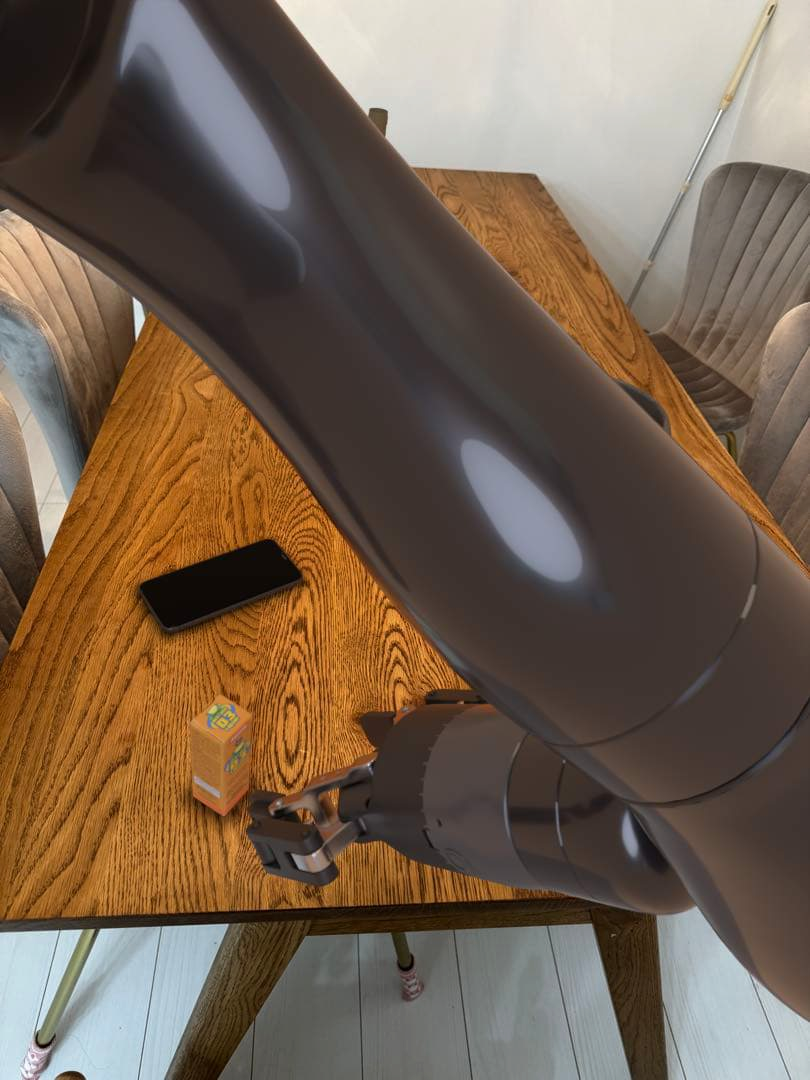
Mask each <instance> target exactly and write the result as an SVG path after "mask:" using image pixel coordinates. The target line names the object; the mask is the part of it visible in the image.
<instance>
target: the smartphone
mask: <svg viewBox="0 0 810 1080" xmlns="http://www.w3.org/2000/svg"><path fill="white" fill-rule="evenodd" d="M303 580H304V574H303V572H302V571H301V570H300V568H299V567H298V566H297V565H296V564H295V562H294V561H293V560H292V558H290V557H289V555H288V553H286V551H284V550H283V548H282V547H281V546H280V545H279V544H278V542H277V541H276V540H274V539H272V538H264V539H261V540H257V541H255V542H252V543H249V544H247V545H243V546H240V547H237V548H235V549H232V550H229V551H226V552H224V553H220V554H218V555H215V556H212V557H209V558H207V559H203V560H201V561H199V562H194V563H193V564H189V565H187V566H183V567H180V568H178V569H175V570H172V571H169V572H167V573H163V574H161V575H158V576H155V577H152V578H149V579H147V580H144V581H142V582H141V583H140V584H139V585H138V593H139V595H140V596H141V599H142V600H143V602H144V603H145V605H146V606H147V608H148V610H149V611H150V612H151V614H152V616H153V617H154V619H155V620H156V622H157V623H158V626H160V628H161V630H162V631H164V632H165V633H177V632H180V631H182V630H185V629H188V628H189V627H192V626H195V625H198V624H200V623H202V622H205V621H208V620H210V619H212V618H213V619H214V618H216V617H218V616H221V615H223V614H226V613H228V612H231V611H233V610H236V609H238V608H240V607H244V606H247V605H248V604H251V603H255V602H256V601H259V600H262V599H264V598H266V597H269V596H271V595H274V594H277V593H279V592H282V591H285V590H287V589H289V588H292V587H295V586H298V585H300V583H302V582H303Z"/></svg>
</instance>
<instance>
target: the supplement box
mask: <svg viewBox="0 0 810 1080" xmlns="http://www.w3.org/2000/svg"><path fill="white" fill-rule="evenodd" d="M252 731H253V715H252V714H251V713H250V712H248V710H246V709H245V708H243V707H242V706H240V705H239V704H237V703H236V702H234V701H232V700H231V699H229V698H227V697H226V696H224V695H223V694H218V695H217V696H216V697H215V698H214V701H213V702H212V703H211V704H209V706H208V707H206V709H204V710H203V711H202V712H201V713H200V714H197V715H196V716H195V717H194V718H193V719H192V720H191V721H190V722H189V735H190V758H191V781H192V782H191V783H192V786H191V787H192V797H194V798H195V799H196V800H198V801H199V802H201V803H202V804H204V805H206V806H207V808H210V809H211V810H213V811H214V812H216V813H217V814H219V815H220V816H222V817H225V816H226V815H227V814H228V813H229V812H230V811H231V810H232V809H233V808H234V807H235V806H236V805H237V803H238V802H239V801H240V800H241V799H242V797H244V795H245V794H246V793H247V792H248V791H249V789H250V776H251V775H250V773H251V755H252V754H251V753H252V752H251V751H252Z"/></svg>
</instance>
